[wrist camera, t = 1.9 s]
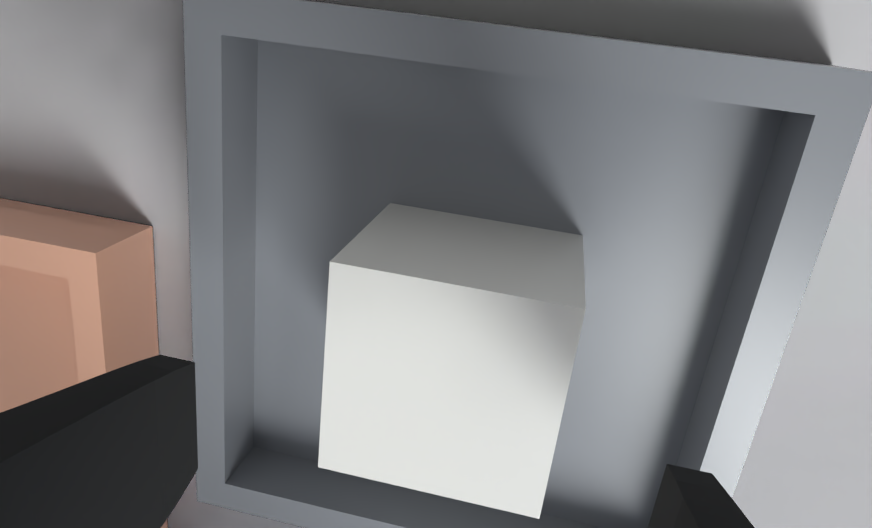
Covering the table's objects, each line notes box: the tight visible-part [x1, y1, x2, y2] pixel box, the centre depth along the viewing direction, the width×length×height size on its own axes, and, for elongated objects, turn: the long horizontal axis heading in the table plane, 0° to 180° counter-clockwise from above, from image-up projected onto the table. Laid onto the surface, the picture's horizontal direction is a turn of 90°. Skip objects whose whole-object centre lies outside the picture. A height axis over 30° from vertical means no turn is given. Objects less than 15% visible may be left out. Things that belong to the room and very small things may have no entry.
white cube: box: [318, 203, 586, 519], centre depth 14 cm, size 4×4×4 cm
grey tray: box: [183, 0, 872, 528], centre depth 15 cm, size 13×13×2 cm
